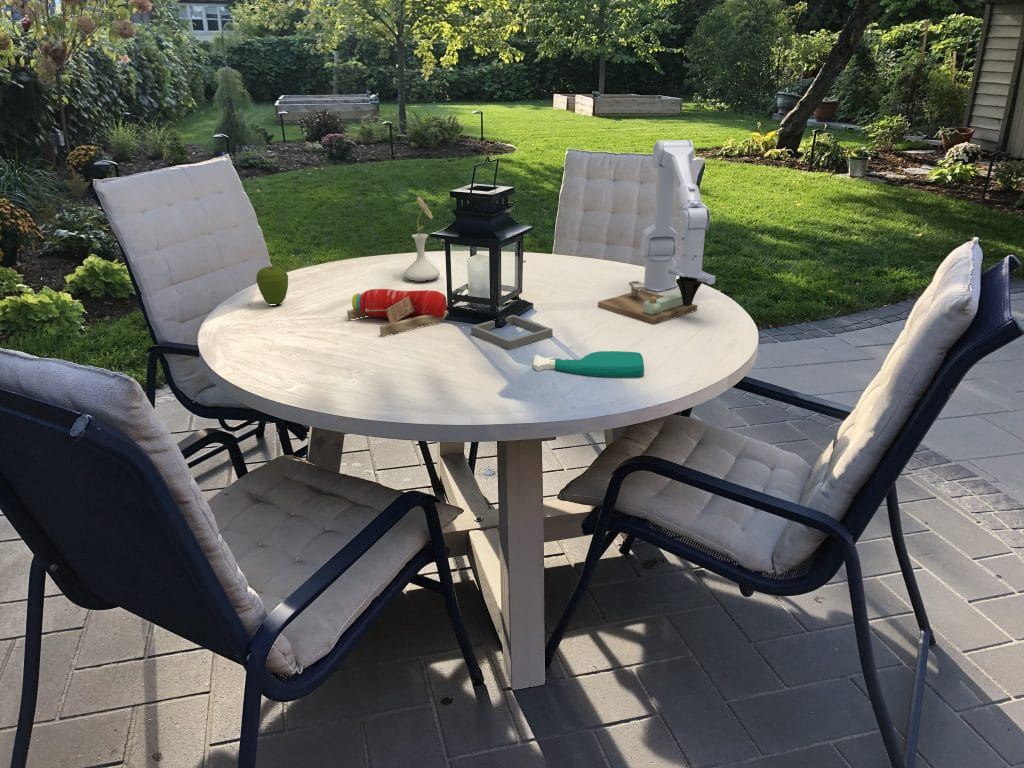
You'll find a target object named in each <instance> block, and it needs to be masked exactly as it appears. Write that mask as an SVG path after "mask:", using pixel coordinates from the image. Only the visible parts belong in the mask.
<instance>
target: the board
mask: <svg viewBox="0 0 1024 768" xmlns="http://www.w3.org/2000/svg"><path fill="white" fill-rule="evenodd" d="M643 284H644V283H642V282H641V281H640V280H637V281H628V285H629V286H630V288H631V290H630V292H628V293H625V294H621V295H617V296H615V297H611V298H607V299H604V300H600V301H597V308H600V309H603V310H606V311H610V312H613V313H615V314H619V315H621V314H622V316H625V317H628V318H632V319H634V318H635V319H634V320H637V319H638V320H637V321H640V320H641V321H640V322H644V323H648V324H650V323H651V325H653V324H654V325H657V324H659V323H662V321H663V322H667V321H669V320H672V319H671V318H673V319H675V318H674V317H676V318H678V316H679V317H681V315H682V316H684V315H683V314H685V315H687V314H686V313H688V314H690V313H689V312H691V313H693V312H692V311H694V312H696V311H695V310H697V311H698V305H697V304H694V303H692V305H690V306H684V305H681V306H677V307H674V308H671V309H668V310H665V311H661V312H660V313H658V314H652V315H651V314H648V313H645V312H643V303H645V302H646V301H649V300H650V301H649V302H650V303H656V300H657V299H658V298H662V297H665V296H666V295H662V294H659V293H658V294H657V293H654V292H652V291H649V290H646V289H645V285H643ZM668 319H669V320H668Z"/></svg>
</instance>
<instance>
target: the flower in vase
mask: <svg viewBox="0 0 1024 768" xmlns="http://www.w3.org/2000/svg"><path fill="white" fill-rule="evenodd" d="M416 199H417V202H418V204H419V206H420V207H421V210H420V212H419V214H418V217H417V220H416V221H415V222H416V225H417V229H416V232H417V231H418V233H414V234H412V235H411V237H412V238H413V240H414V243H415V245H416V252H417V253H416V254H417V256H416V258H415V260H414V261H413V262H412V263H411V264H410V265H409V266H408V267H407V268H406V269H405V271H404V272H403V277H405V279H407V280H411V281H413V280H414V281H415V282H427V281H426V280H428V281H432V280H435V279H436V278H438V277H439V276H440V274H441V271H440V270H439V269H438V267H436V266H435V265H434V264H432V263H431V262H430V261H428V260H427V258H426V255H425V254H426V253H425V246H426V245H425V244H426V240H427V238H428V237H429V234H428V233H420V231H421V230H423V228H425V226H424V225H422V224H421V225H420V224H419V221H420V217H421V215H422V213H423V212H424V214H425V215H426V216H427V217H428V218H429V219H430V220H433V219H434V216H433V213H432V212H431V211H430V209H429V208H428V207H429V206H428V205H427V203H425V202H424V199H423V198H421V197H420V196H417V198H416ZM414 281H413V282H414Z"/></svg>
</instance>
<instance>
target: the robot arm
mask: <svg viewBox="0 0 1024 768" xmlns="http://www.w3.org/2000/svg"><path fill="white" fill-rule="evenodd" d="M694 156H695V144H694V142H693V141H692V140H691V139H677V140H676V139H673V140H672V139H671V140H670V139H666V140H661V139H657V141H656V142H655V143H654V145H653V148H652V162H651V163H652V168H654V169H657V177H656V186H655V187H656V189H655V200H654V201H655V202H654V210H653V211H654V214H653V220H652V221H653V223H652V225H650V226H649V227H647V228H645V229H644V230H643V232H642V235H641V240H640V253H641V256H642V257H643V258H645V263H644V264H645V266H644V282H643V283H642V284H643V285H645V289H644V290H647V291H651V292H656V293H660V292H664V291H666V290H671V289H673V288H676V287H678V289H679V293H681V296H682V301H683V305H684V306H690V305H692V304H693V301H694V298H695V297H696V295H697V291H698V290H699V288H700V287H701V285H702V283H705V284H707V285H713V284H715V283H716V275H712V274H711V273H709V272H705V271H703V270H702V268H703V258H704V247H705V246H704V245H705V236H706V231H708V229H709V227H710V224H711V214H710V213H711V212H710V208H709V207H708V206H707V205H706V204H705V203H703V200H702V196H701V193H700V190H699V189H700V188H699V186H698V185H697V184H695V183H693V182H694V181H693V177H692V169H691V165H692V162H693V159H694ZM675 180H676V183H677V185H678V188H677V190H676V199H677V203H678V206H679V210H680V215H679V227H680V231H679V235H680V237H681V243H680V252H679V253H680V255H679V266H678V263H677V261H676V259H675V255H677V252H678V249H679V247H678V246H679V245H678V233H677V231H676V230H675V229H674V228H673V227H672V226H671V218H672V217H671V216H672V208H673V197H674V187H675ZM677 277H678V278H677Z"/></svg>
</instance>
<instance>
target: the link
mask: <svg viewBox="0 0 1024 768" xmlns="http://www.w3.org/2000/svg"><path fill="white" fill-rule="evenodd" d="M664 296H665V297H662V298H658V299H657V300H656V303H650V302H649V301H650V300H649V301H646V302H645V303H643V312H645V313H648V314H651V315H652V314H658V313H660V312H661V311H665V310H668V309H671V308H674V307H677V306H681V305H683V301H682V296H681V292H680V291H679V292H676V293H672V294H669V295H664Z"/></svg>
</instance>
